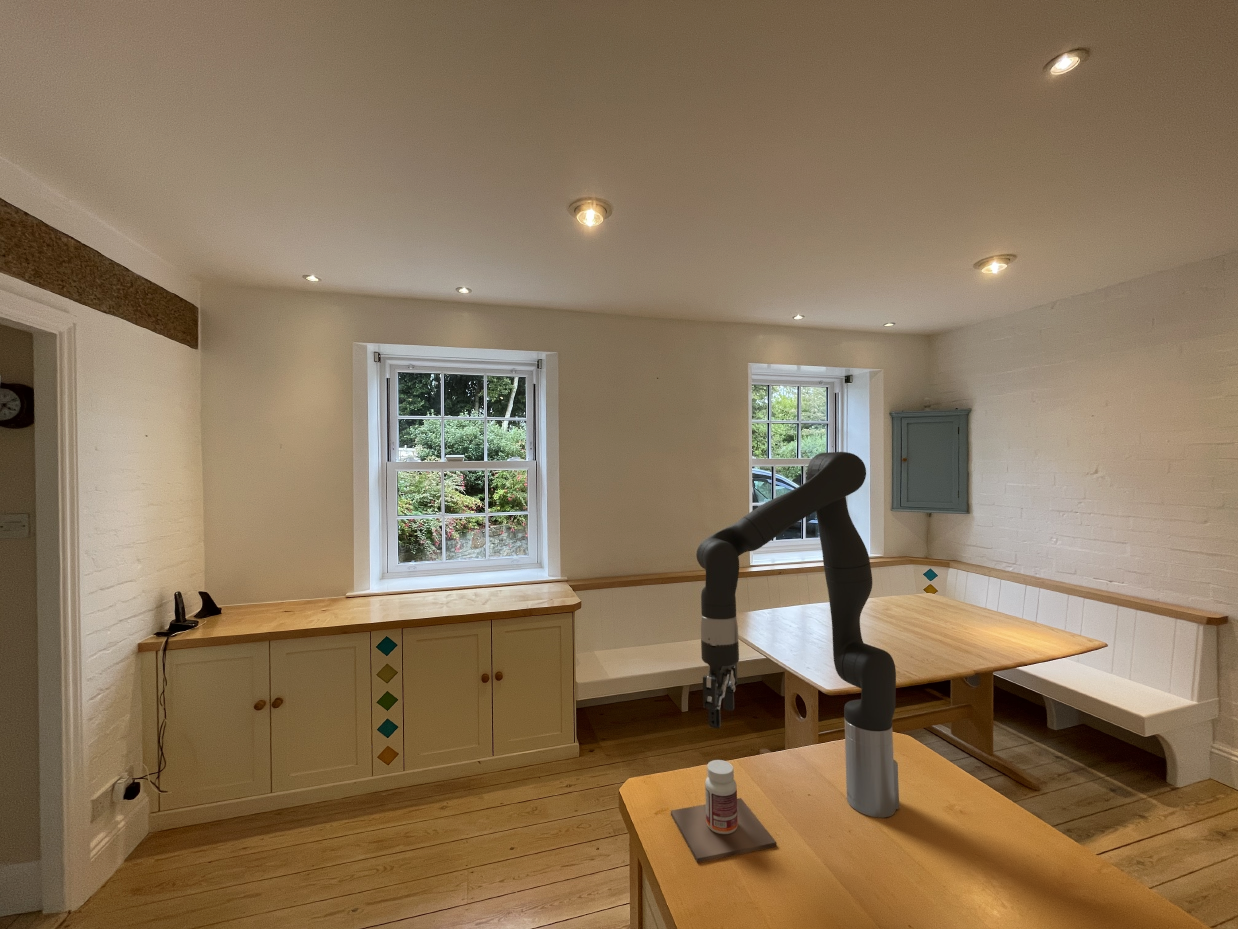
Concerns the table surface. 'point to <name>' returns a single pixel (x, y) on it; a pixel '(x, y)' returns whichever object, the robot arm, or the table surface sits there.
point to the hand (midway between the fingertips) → (722, 718)
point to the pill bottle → (721, 797)
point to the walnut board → (721, 845)
